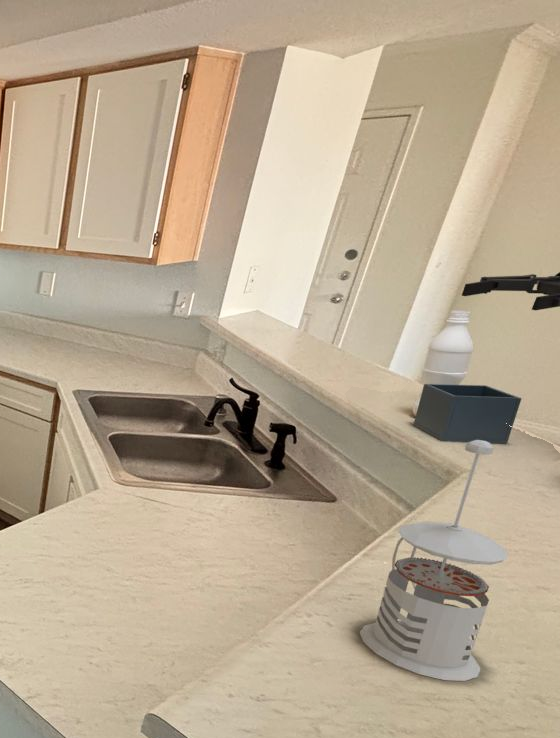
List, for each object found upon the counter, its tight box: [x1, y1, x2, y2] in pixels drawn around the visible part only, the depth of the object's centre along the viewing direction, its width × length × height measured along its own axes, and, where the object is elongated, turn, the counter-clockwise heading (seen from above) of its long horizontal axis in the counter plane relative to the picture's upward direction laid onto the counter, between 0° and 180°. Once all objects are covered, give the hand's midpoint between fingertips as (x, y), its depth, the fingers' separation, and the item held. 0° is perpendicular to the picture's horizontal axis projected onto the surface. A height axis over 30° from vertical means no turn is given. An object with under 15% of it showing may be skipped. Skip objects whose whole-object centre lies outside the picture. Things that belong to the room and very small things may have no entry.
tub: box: [412, 383, 522, 445], centre depth 126 cm, size 11×11×10 cm
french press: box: [359, 440, 509, 682], centre depth 63 cm, size 10×12×25 cm
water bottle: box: [412, 309, 474, 417], centre depth 134 cm, size 7×7×25 cm
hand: (498, 296), depth 128 cm, fingers open, 13 cm apart
